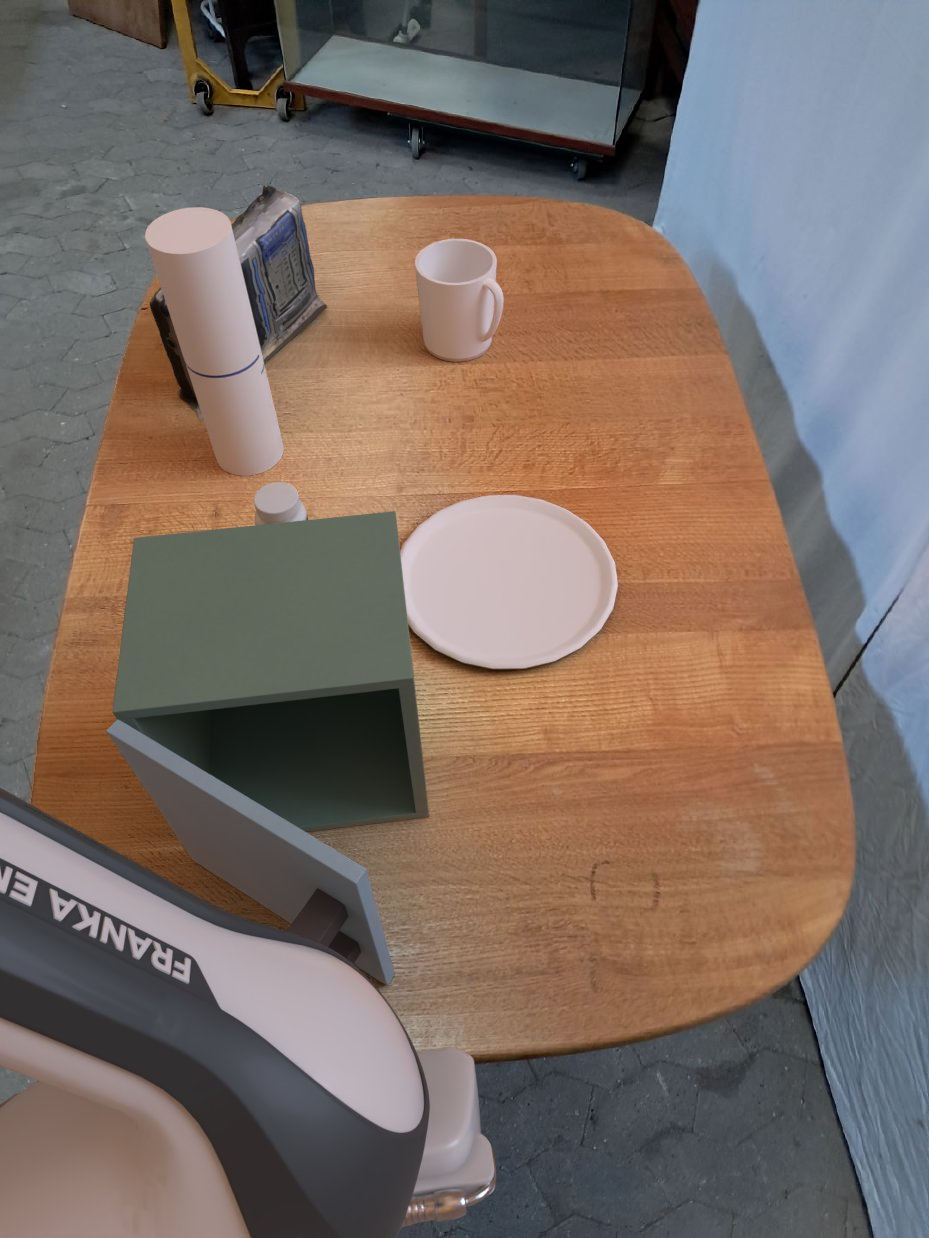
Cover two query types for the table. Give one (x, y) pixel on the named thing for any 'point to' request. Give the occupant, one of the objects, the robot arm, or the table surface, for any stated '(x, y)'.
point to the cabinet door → (262, 854)
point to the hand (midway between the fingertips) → (291, 1044)
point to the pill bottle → (278, 504)
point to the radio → (260, 281)
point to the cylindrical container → (217, 336)
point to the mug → (458, 298)
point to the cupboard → (280, 665)
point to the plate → (507, 582)
